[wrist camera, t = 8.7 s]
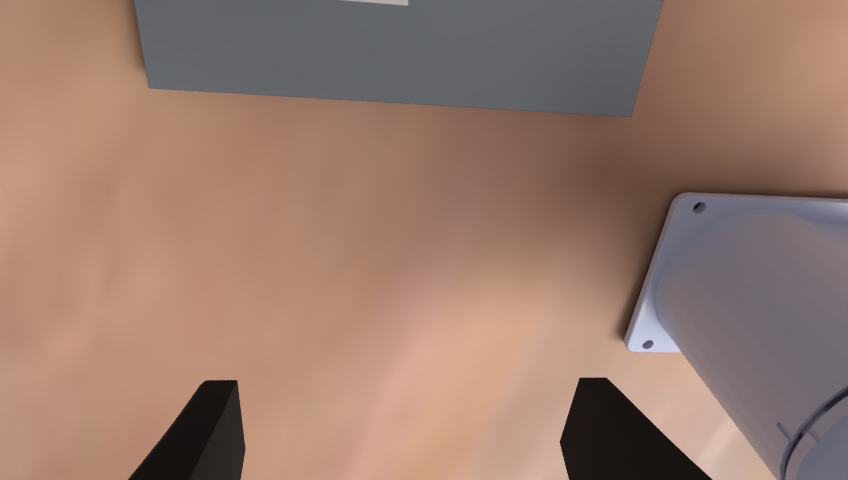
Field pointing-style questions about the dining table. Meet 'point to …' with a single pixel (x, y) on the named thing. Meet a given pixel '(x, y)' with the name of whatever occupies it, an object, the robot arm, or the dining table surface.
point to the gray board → (406, 50)
